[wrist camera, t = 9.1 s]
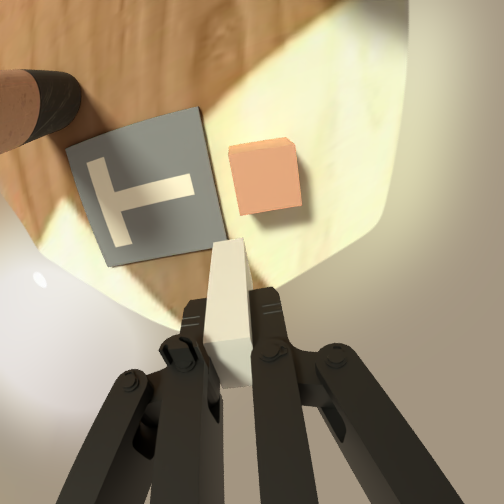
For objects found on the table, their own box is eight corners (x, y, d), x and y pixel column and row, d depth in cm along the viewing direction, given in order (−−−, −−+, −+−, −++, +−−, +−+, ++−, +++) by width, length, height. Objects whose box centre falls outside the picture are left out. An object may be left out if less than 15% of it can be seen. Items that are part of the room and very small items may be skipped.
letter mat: (198, 106, 27) (197, 106, 27) (228, 242, 35) (228, 245, 35) (67, 147, 28) (65, 148, 27) (109, 264, 36) (107, 267, 35)
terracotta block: (285, 136, 29) (294, 144, 25) (292, 189, 32) (302, 205, 28) (228, 146, 30) (228, 155, 25) (239, 198, 33) (240, 215, 28)
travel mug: (95, 89, 25) (-45, 109, 7) (62, 144, 27) (-66, 214, 10) (54, 59, 22) (-82, 65, 5) (24, 113, 24) (-103, 159, 7)
